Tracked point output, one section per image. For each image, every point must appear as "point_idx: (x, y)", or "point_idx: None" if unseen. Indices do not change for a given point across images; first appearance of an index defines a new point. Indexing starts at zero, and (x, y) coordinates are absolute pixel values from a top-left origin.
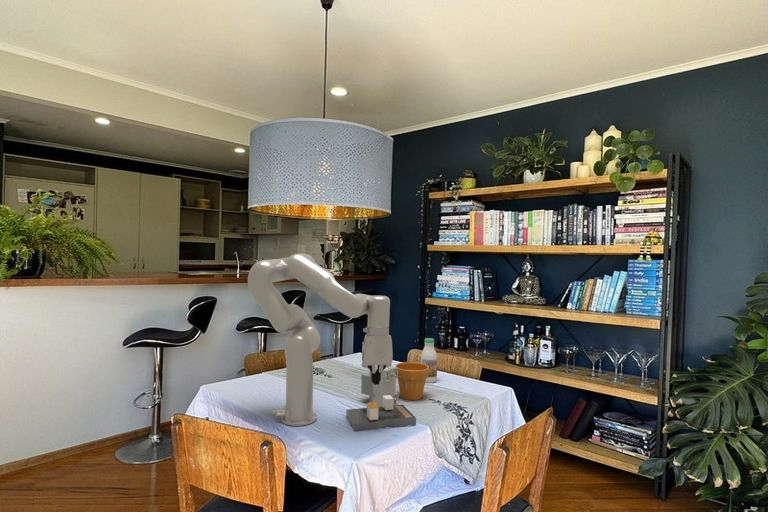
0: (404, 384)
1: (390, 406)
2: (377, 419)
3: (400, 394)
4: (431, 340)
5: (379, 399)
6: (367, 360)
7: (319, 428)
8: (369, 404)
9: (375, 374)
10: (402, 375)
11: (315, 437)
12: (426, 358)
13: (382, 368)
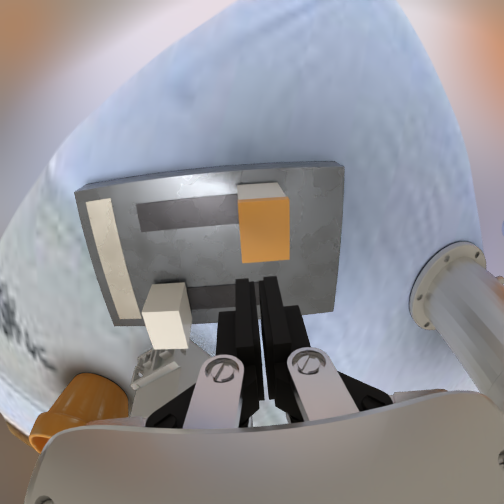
0: (106, 416)
1: (161, 290)
2: (237, 194)
3: (127, 402)
4: None
5: (196, 367)
6: (496, 436)
7: (428, 215)
8: (282, 235)
9: (289, 336)
10: None
11: (451, 151)
12: None
13: (197, 400)
